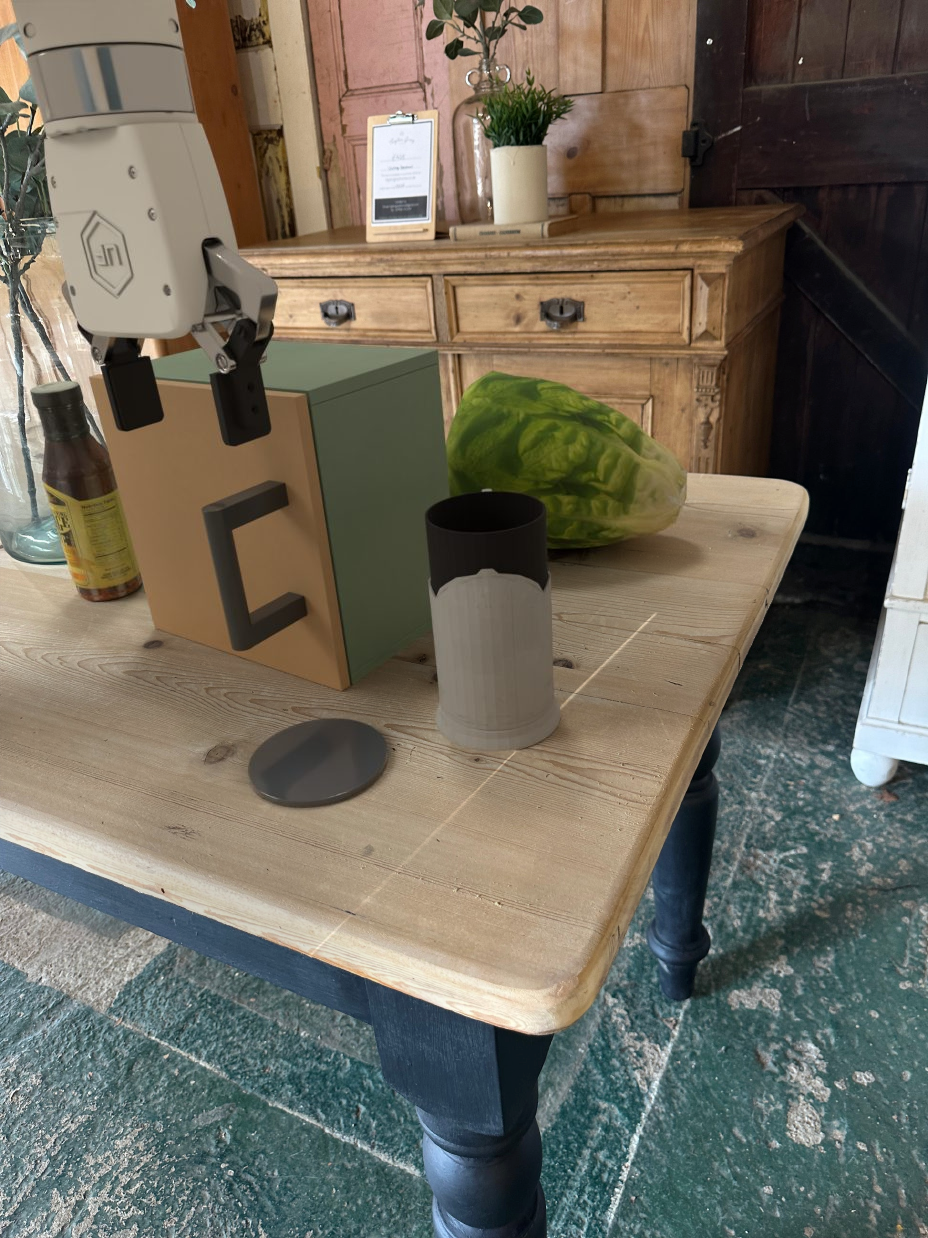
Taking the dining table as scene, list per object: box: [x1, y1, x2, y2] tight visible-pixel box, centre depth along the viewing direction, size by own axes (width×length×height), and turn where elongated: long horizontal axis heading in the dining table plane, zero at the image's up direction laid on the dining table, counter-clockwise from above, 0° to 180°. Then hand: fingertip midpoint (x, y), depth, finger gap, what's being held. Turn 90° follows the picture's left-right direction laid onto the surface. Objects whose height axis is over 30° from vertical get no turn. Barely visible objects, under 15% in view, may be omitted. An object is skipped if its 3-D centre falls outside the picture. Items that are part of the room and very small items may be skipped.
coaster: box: [247, 717, 389, 809], centre depth 56 cm, size 9×9×1 cm
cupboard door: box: [88, 373, 351, 692], centre depth 63 cm, size 7×22×22 cm, turn 55°
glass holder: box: [425, 489, 562, 752], centre depth 59 cm, size 9×14×15 cm, turn 179°
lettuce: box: [445, 370, 688, 550], centre depth 83 cm, size 17×23×16 cm
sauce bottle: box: [29, 380, 143, 603], centre depth 79 cm, size 7×6×20 cm
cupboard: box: [151, 340, 450, 685], centre depth 71 cm, size 14×22×22 cm, turn 55°
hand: (192, 432), depth 51 cm, fingers open, 9 cm apart
